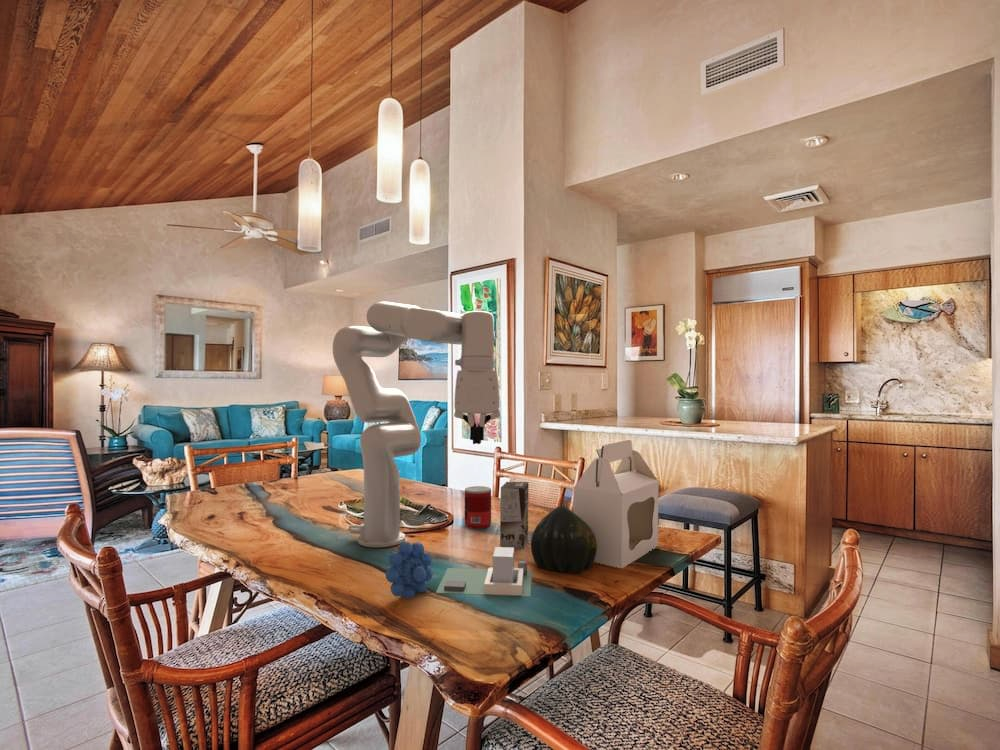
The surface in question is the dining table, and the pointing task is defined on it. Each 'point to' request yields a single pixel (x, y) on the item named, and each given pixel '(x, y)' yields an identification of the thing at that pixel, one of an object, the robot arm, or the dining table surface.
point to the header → (504, 584)
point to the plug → (503, 565)
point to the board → (477, 581)
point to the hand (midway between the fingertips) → (477, 443)
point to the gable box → (619, 505)
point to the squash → (563, 542)
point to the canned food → (477, 507)
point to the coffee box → (514, 515)
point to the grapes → (409, 570)
